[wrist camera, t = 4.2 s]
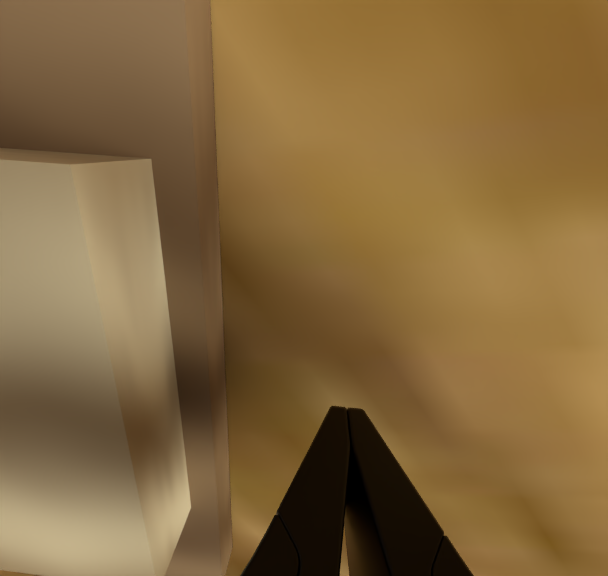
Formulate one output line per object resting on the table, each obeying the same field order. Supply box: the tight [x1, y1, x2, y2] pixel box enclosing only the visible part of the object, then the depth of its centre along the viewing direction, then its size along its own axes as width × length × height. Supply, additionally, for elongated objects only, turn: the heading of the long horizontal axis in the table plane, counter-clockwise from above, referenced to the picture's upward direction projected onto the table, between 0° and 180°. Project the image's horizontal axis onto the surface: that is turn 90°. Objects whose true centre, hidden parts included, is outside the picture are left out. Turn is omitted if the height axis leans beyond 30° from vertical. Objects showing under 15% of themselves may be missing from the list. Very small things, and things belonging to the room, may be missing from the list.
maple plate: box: [0, 148, 191, 576], centre depth 9 cm, size 12×8×2 cm, turn 176°
